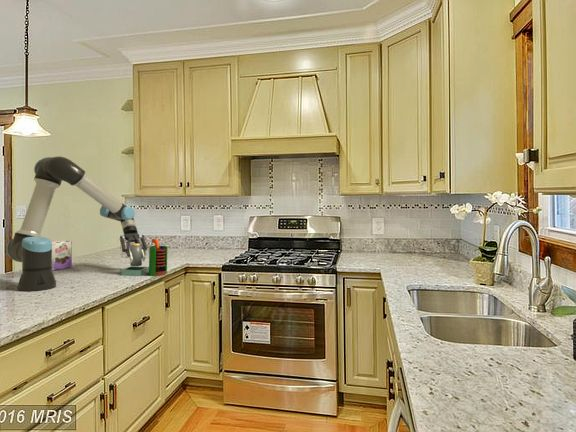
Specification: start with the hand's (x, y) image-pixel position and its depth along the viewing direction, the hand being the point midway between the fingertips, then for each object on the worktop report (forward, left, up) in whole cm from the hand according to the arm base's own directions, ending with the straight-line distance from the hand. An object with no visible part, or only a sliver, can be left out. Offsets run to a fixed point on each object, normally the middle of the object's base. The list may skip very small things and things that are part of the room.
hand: (138, 260), depth 214 cm
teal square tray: (+2, +2, -8) cm, 9 cm away
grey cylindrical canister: (+3, +2, -3) cm, 5 cm away
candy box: (+10, +52, -8) cm, 54 cm away
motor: (+2, -10, -8) cm, 13 cm away
